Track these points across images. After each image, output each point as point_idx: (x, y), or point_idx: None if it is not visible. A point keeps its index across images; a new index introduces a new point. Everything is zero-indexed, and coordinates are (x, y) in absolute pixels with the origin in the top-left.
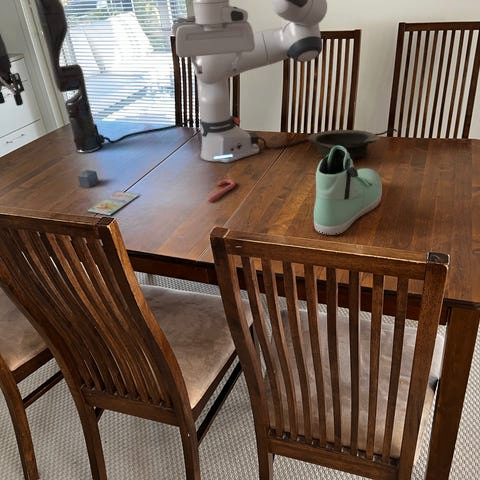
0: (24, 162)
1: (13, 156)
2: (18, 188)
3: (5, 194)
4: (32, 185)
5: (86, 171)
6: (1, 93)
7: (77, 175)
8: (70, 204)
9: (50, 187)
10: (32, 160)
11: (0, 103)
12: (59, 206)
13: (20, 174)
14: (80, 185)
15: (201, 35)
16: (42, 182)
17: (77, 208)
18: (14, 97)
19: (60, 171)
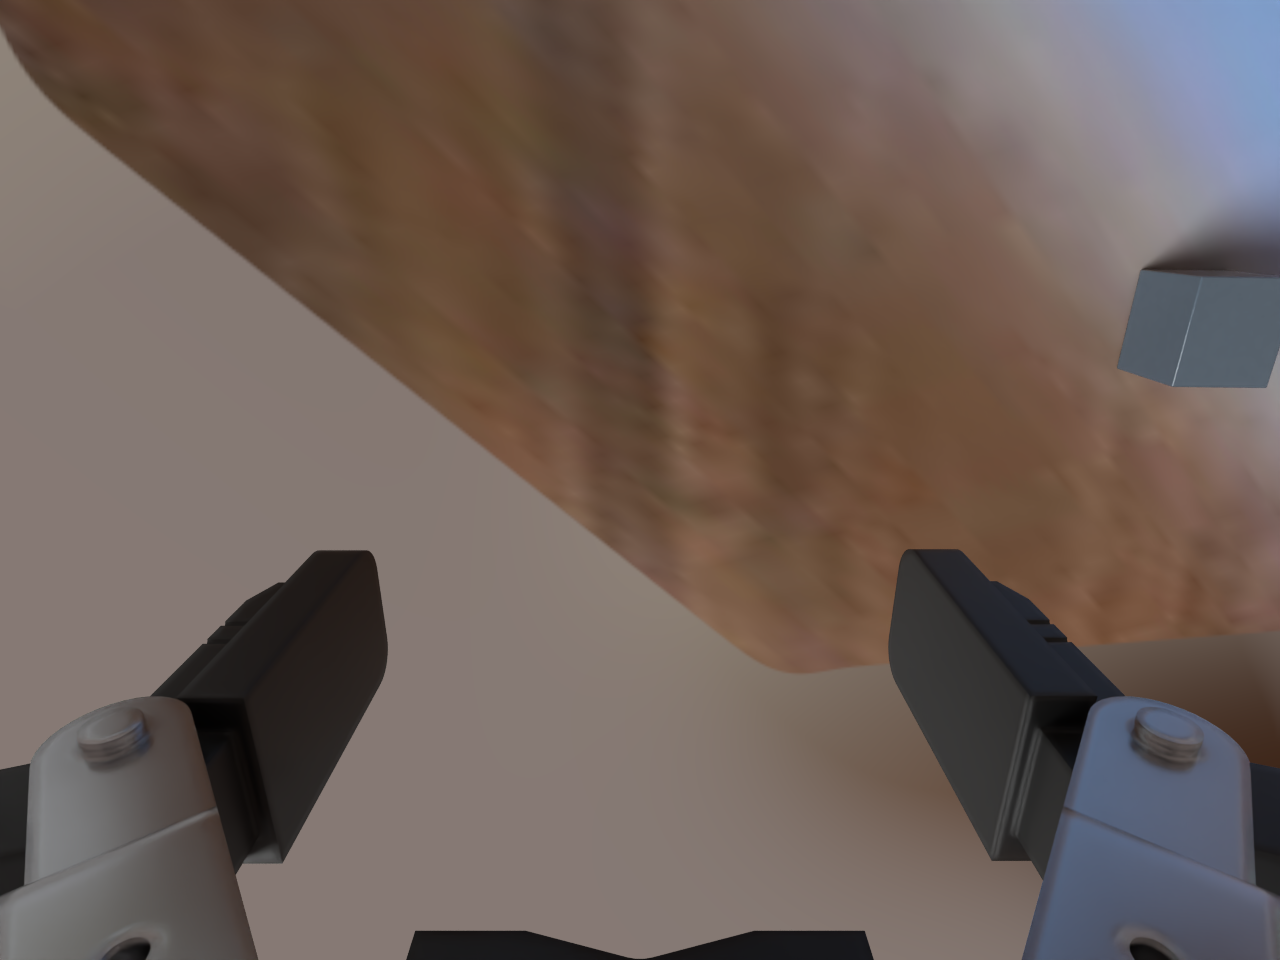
0: (319, 124)
1: (75, 31)
2: (696, 516)
3: (683, 599)
4: (757, 455)
5: (1216, 305)
6: (279, 699)
7: (1172, 386)
8: (1185, 581)
9: (907, 443)
10: (347, 59)
11: (384, 661)
12: (1130, 616)
13: (512, 337)
14: (1125, 370)
15: None
16: (792, 398)
17: (1253, 605)
18: (975, 800)
19: (790, 191)
